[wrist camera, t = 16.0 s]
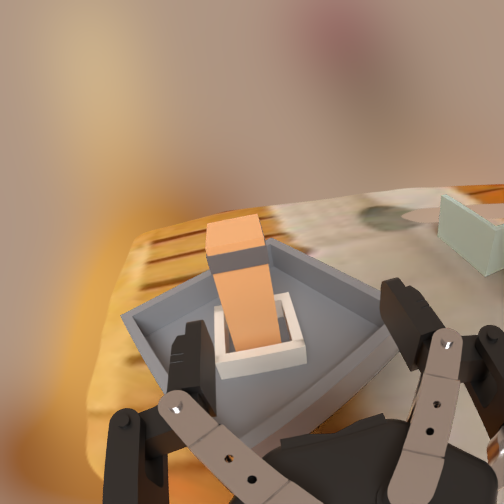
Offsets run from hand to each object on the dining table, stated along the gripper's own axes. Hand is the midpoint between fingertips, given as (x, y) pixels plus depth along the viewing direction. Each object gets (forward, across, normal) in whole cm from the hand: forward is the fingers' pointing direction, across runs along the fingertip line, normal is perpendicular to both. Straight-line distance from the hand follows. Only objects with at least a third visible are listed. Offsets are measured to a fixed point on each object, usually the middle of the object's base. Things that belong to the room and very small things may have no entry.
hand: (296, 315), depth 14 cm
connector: (+13, +3, +15) cm, 20 cm away
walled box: (+13, +3, +16) cm, 21 cm away
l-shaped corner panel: (+21, -34, +17) cm, 43 cm away
